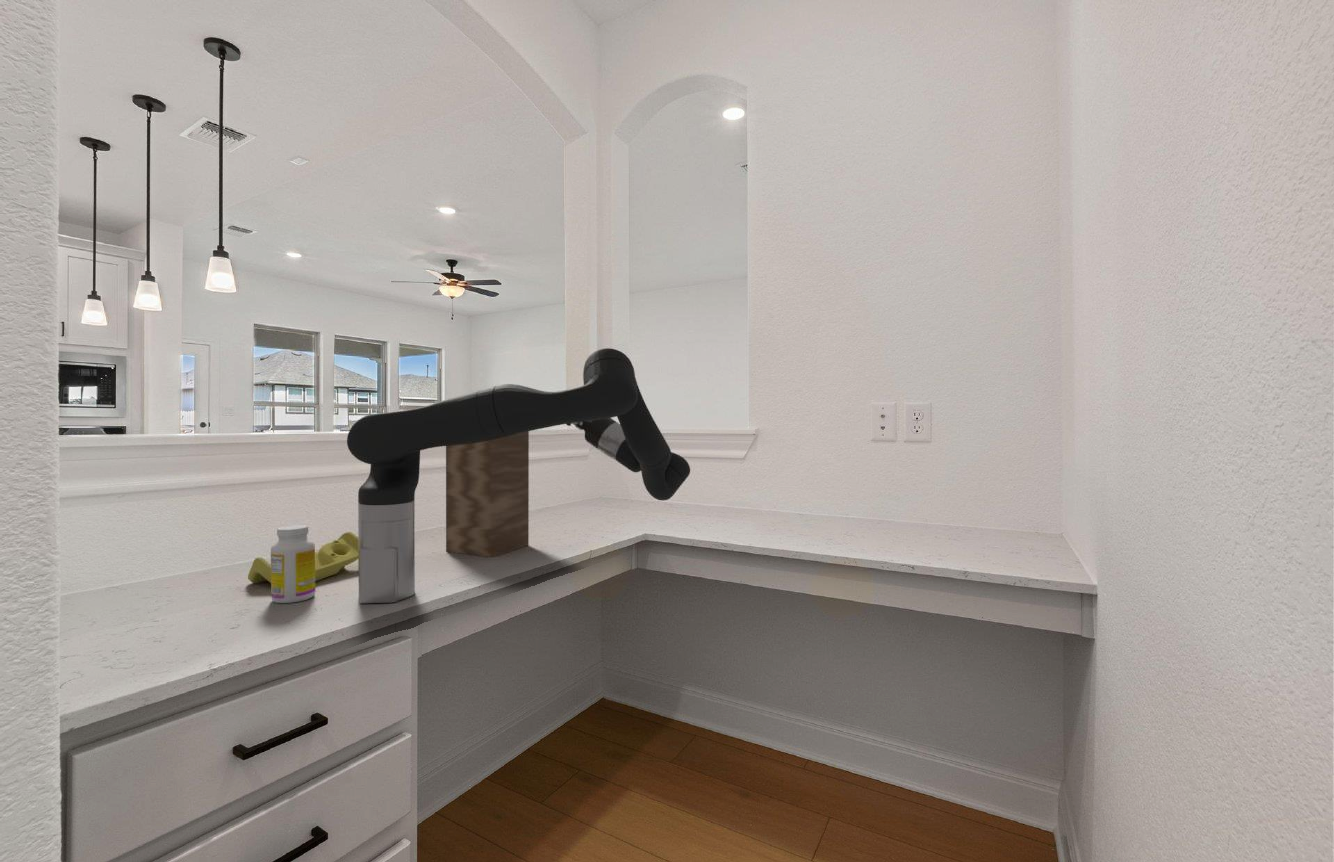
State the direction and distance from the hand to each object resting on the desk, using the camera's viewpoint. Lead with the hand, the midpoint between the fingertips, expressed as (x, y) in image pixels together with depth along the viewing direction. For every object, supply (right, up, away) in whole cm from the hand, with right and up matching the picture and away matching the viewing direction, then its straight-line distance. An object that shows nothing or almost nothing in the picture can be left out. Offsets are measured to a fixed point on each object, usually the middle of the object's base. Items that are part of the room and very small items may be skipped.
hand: (555, 400), depth 136 cm
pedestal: (-18, -37, +8) cm, 42 cm away
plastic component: (-46, -38, -18) cm, 62 cm away
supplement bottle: (-40, -38, -33) cm, 64 cm away
